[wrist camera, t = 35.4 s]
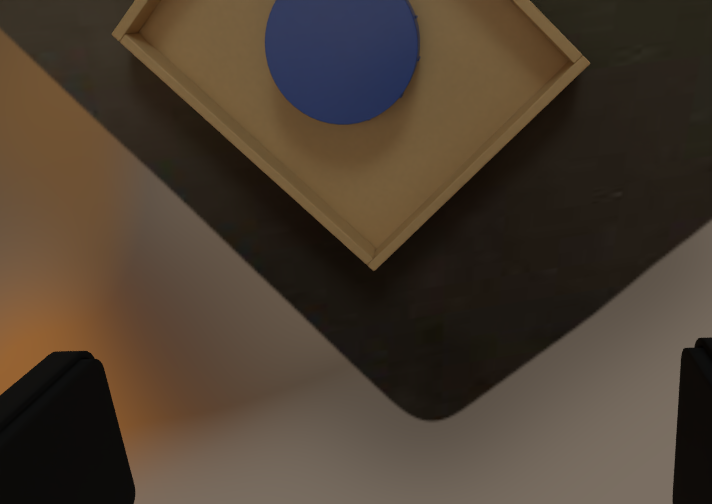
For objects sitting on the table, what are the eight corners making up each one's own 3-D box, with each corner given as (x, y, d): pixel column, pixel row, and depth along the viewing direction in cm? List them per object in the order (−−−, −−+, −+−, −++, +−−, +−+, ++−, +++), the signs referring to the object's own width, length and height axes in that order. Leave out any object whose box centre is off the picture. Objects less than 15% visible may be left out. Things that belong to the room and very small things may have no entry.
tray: (583, 59, 31) (590, 63, 29) (378, 257, 36) (373, 271, 34) (308, -223, 28) (298, -238, 27) (129, 32, 33) (110, 34, 32)
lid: (265, -27, 31) (253, -28, 29) (414, -45, 30) (412, -47, 28) (285, 123, 33) (276, 130, 32) (424, 111, 32) (423, 118, 31)
